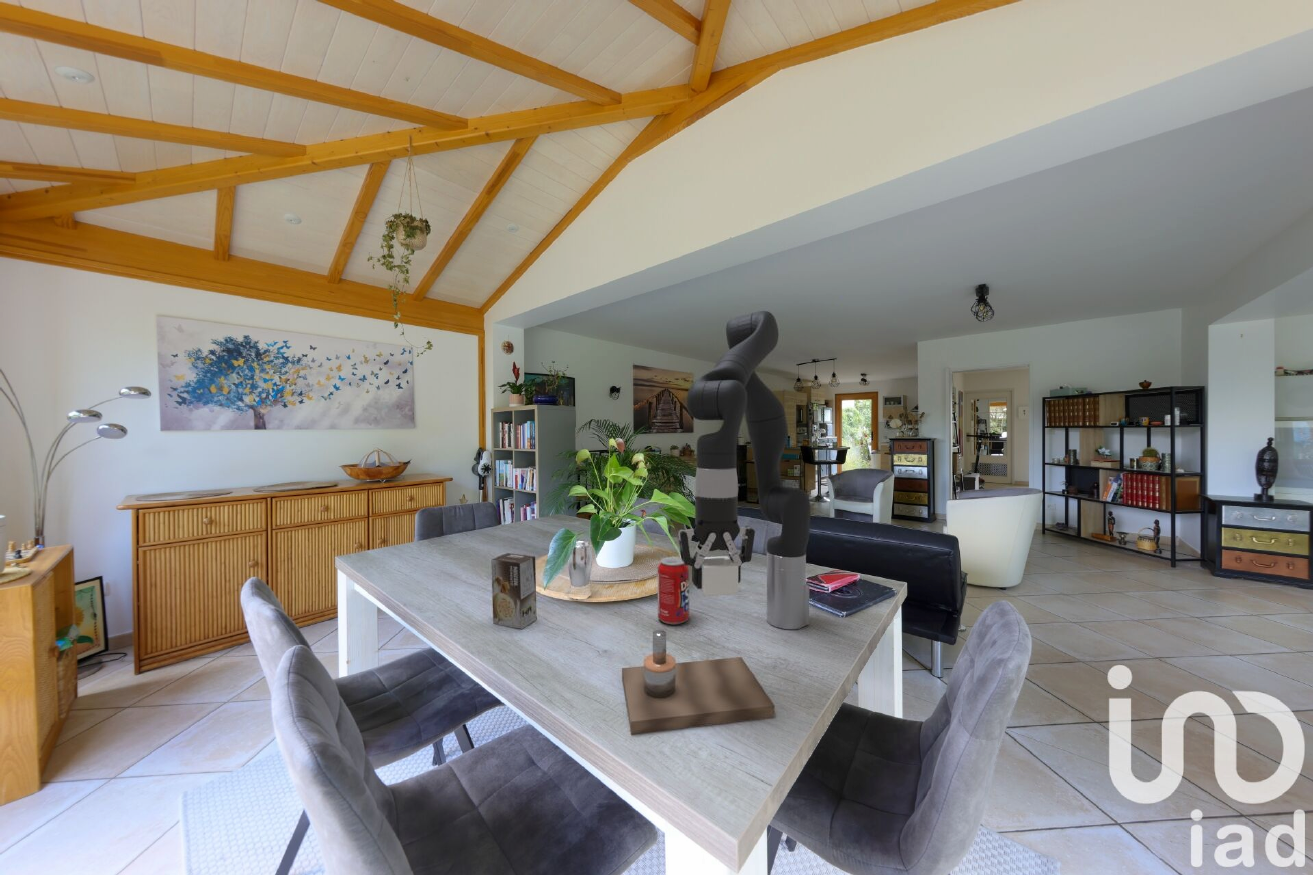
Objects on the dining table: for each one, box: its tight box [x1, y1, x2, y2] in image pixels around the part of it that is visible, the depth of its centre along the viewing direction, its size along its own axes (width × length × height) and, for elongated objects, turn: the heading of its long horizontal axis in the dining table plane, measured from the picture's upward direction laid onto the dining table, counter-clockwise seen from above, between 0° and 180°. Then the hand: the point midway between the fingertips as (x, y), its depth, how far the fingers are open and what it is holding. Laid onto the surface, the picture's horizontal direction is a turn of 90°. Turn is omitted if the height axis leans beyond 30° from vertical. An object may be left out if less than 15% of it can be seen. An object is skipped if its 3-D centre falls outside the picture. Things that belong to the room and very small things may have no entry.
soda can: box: [657, 556, 690, 626], centre depth 114 cm, size 8×8×15 cm
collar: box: [699, 555, 739, 598], centre depth 82 cm, size 6×6×5 cm
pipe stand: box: [621, 629, 776, 735], centre depth 82 cm, size 24×16×12 cm, turn 99°
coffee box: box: [490, 552, 538, 630], centre depth 113 cm, size 9×6×16 cm
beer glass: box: [567, 540, 593, 587], centre depth 130 cm, size 7×7×15 cm
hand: (716, 585), depth 82 cm, fingers closed on collar, 6 cm apart
